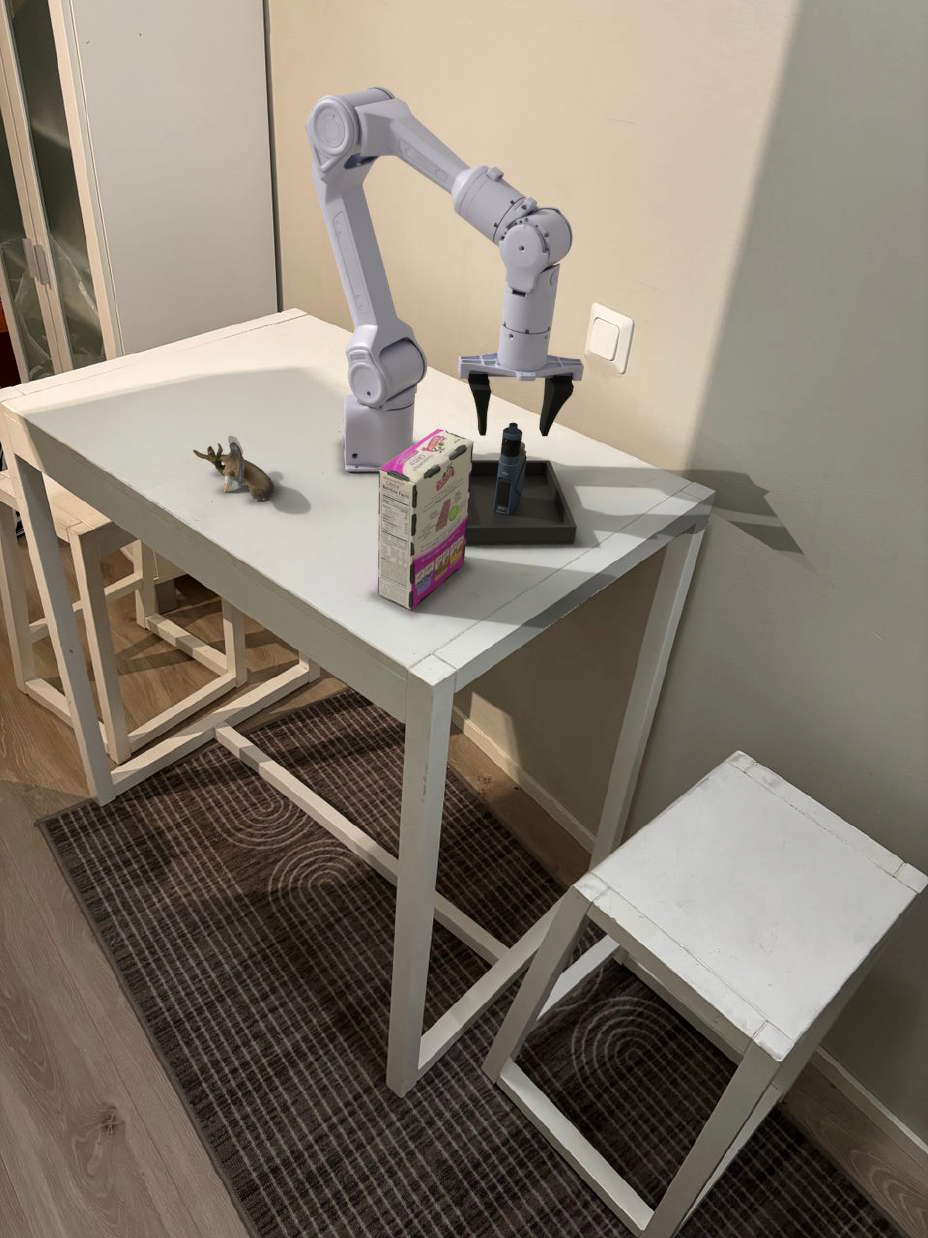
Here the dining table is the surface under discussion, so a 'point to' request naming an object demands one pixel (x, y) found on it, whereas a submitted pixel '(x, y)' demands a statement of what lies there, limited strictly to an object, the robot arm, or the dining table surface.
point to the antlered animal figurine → (239, 469)
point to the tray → (519, 508)
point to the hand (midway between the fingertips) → (512, 432)
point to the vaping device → (510, 470)
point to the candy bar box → (423, 517)
